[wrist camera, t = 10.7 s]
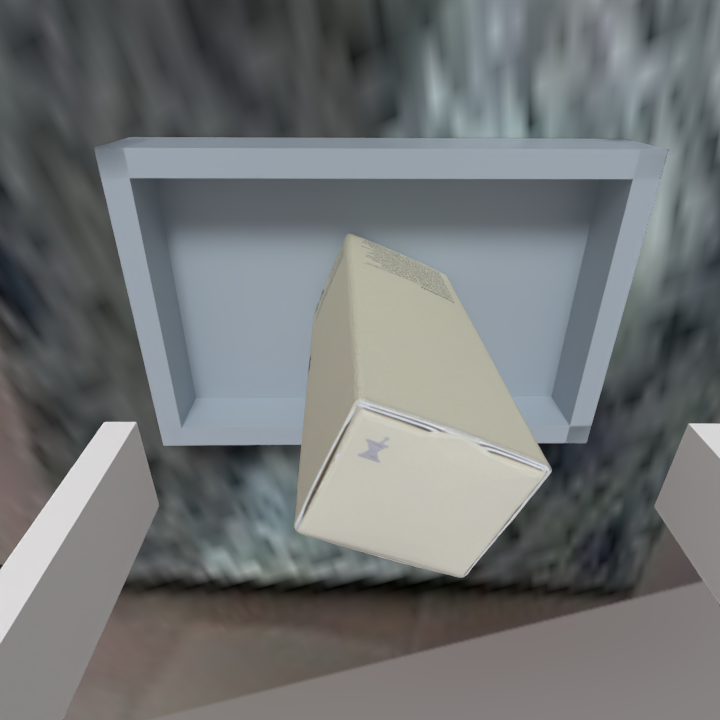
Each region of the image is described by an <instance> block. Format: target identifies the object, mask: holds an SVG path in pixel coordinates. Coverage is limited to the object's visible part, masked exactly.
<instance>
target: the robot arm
mask: <svg viewBox="0 0 720 720" xmlns="http://www.w3.org/2000/svg"><path fill="white" fill-rule="evenodd" d="M158 507H159V503H158V499H157V496H156V492H155V488H154V485H153V481H152V477H151V474H150V470H149V466H148V462H147V459H146V455H145V451H144V448H143V444H142V440H141V437H140V433H139V429H138V425H137V422H104V423H103V424H102V426H101V427H100V429H99V430H98V432H97V433H96V434H95V436H94V437H93V439H92V440H91V441H90V443H89V444H88V446H87V447H86V449H85V450H84V451H83V453H82V454H81V456H80V457H79V458H78V460H77V461H76V463H75V464H74V466H73V467H72V468H71V470H70V471H69V473H68V474H67V476H66V477H65V478H64V480H63V481H62V483H61V484H60V485H59V487H58V488H57V490H56V491H55V493H54V494H53V495H52V497H51V498H50V500H49V501H48V502H47V504H46V505H45V507H44V508H43V510H42V511H41V512H40V514H39V515H38V517H37V518H36V520H35V521H34V522H33V524H32V525H31V527H30V528H29V529H28V531H27V532H26V534H25V535H24V537H23V538H22V539H21V541H20V542H19V544H18V545H17V546H16V548H15V549H14V551H13V552H12V554H11V555H10V556H9V558H8V559H7V561H6V562H5V564H4V565H0V720H63V719H64V716H65V714H66V712H67V710H68V707H69V705H70V703H71V701H72V699H73V696H74V694H75V692H76V690H77V687H78V685H79V683H80V681H81V679H82V676H83V674H84V672H85V670H86V667H87V665H88V663H89V661H90V658H91V656H92V654H93V652H94V650H95V647H96V645H97V643H98V641H99V638H100V636H101V634H102V632H103V630H104V627H105V625H106V623H107V621H108V618H109V616H110V614H111V612H112V609H113V607H114V605H115V603H116V601H117V598H118V596H119V594H120V592H121V589H122V587H123V585H124V583H125V580H126V578H127V576H128V574H129V572H130V569H131V567H132V565H133V563H134V560H135V558H136V556H137V554H138V552H139V549H140V547H141V545H142V543H143V540H144V538H145V536H146V534H147V531H148V529H149V527H150V525H151V523H152V520H153V518H154V516H155V514H156V511H157V509H158ZM654 507H655V509H656V510H657V512H658V513H659V515H660V516H661V518H662V519H663V521H664V522H665V524H666V525H667V527H668V528H669V530H670V531H671V533H672V534H673V536H674V537H675V539H676V540H677V542H678V544H679V545H680V547H681V548H682V550H683V551H684V553H685V554H686V556H687V557H688V559H689V560H690V562H691V563H692V565H693V566H694V568H695V569H696V571H697V572H698V574H699V575H700V577H701V578H702V580H703V581H704V583H705V584H706V586H707V587H708V589H709V590H710V592H711V593H712V595H713V596H714V598H715V599H716V601H717V602H718V604H719V605H720V424H688V426H687V428H686V431H685V433H684V435H683V438H682V440H681V443H680V445H679V448H678V450H677V452H676V455H675V457H674V460H673V462H672V464H671V467H670V469H669V472H668V474H667V477H666V479H665V481H664V484H663V486H662V489H661V491H660V494H659V496H658V498H657V501H656V503H655V506H654Z"/></svg>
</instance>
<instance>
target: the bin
mask: <svg viewBox="0 0 720 720" xmlns="http://www.w3.org/2000/svg"><path fill="white" fill-rule="evenodd" d="M94 150H95V154H96V158H97V163H98V167H99V171H100V176H101V180H102V184H103V188H104V193H105V197H106V201H107V206H108V210H109V214H110V218H111V223H112V227H113V231H114V236H115V240H116V244H117V248H118V253H119V257H120V261H121V266H122V270H123V274H124V278H125V283H126V287H127V291H128V296H129V300H130V304H131V308H132V313H133V317H134V321H135V326H136V330H137V334H138V338H139V343H140V347H141V351H142V356H143V360H144V364H145V368H146V373H147V377H148V381H149V386H150V390H151V394H152V398H153V403H154V407H155V411H156V416H157V420H158V424H159V428H160V433H161V437H162V441H163V446H169V445H301V443H302V433H303V422H304V412H305V401H306V389H307V380H308V373H309V360H310V348H311V337H312V327H313V315H314V312H315V309H316V306H317V303H318V301H319V298H320V296H321V293H322V291H323V288H324V286H325V283H326V281H327V278H328V276H329V274H330V271H331V269H332V267H333V264H334V262H335V260H336V258H337V255H338V253H339V251H340V249H341V246H342V244H343V242H344V240H345V237H346V235H347V234H354V235H356V236H359V237H362V238H364V239H366V240H369V241H371V242H374V243H376V244H379V245H381V246H383V247H386V248H388V249H390V250H393V251H395V252H398V253H400V254H402V255H404V256H407V257H409V258H411V259H413V260H416V261H418V262H420V263H422V264H424V265H427V266H429V267H431V268H433V269H435V270H437V271H439V272H441V273H443V274H445V275H446V276H447V277H448V279H449V281H450V283H451V284H452V286H453V288H454V290H455V292H456V294H457V296H458V298H459V299H460V301H461V303H462V305H463V307H464V309H465V311H466V313H467V314H468V316H469V318H470V320H471V322H472V324H473V325H474V327H475V329H476V331H477V333H478V335H479V336H480V338H481V340H482V342H483V344H484V346H485V348H486V350H487V351H488V353H489V355H490V357H491V359H492V361H493V362H494V364H495V366H496V368H497V370H498V372H499V374H500V376H501V377H502V379H503V381H504V383H505V385H506V387H507V389H508V390H509V392H510V394H511V396H512V398H513V400H514V401H515V403H516V405H517V407H518V409H519V411H520V412H521V414H522V416H523V418H524V420H525V422H526V423H527V425H528V427H529V429H530V431H531V433H532V434H533V436H534V438H535V440H536V442H537V443H587V439H588V436H589V432H590V428H591V425H592V421H593V418H594V414H595V411H596V407H597V404H598V400H599V396H600V393H601V389H602V386H603V382H604V379H605V375H606V371H607V368H608V364H609V361H610V357H611V354H612V350H613V347H614V343H615V339H616V336H617V332H618V329H619V325H620V322H621V318H622V315H623V311H624V307H625V304H626V300H627V297H628V293H629V290H630V286H631V283H632V279H633V275H634V272H635V268H636V265H637V261H638V258H639V254H640V251H641V247H642V243H643V240H644V236H645V233H646V229H647V226H648V222H649V219H650V215H651V211H652V208H653V204H654V201H655V197H656V194H657V190H658V186H659V183H660V179H661V176H662V172H663V169H664V165H665V162H666V158H667V154H668V151H669V149H665V148H660V147H656V146H652V145H648V144H644V143H640V142H636V141H632V140H627V139H516V138H226V137H129V138H126V139H122V140H119V141H115V142H112V143H109V144H105V145H102V146H98V147H95V148H94Z"/></svg>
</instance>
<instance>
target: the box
mask: <svg viewBox="0 0 720 720" xmlns="http://www.w3.org/2000/svg"><path fill="white" fill-rule="evenodd" d="M551 470H552V469H551V467H550V465H549V463H548V462H547V460H546V458H545V456H544V455H543V453H542V451H541V449H540V447H539V445H538V444H537V442H536V440H535V438H534V436H533V434H532V433H531V431H530V429H529V427H528V425H527V423H526V422H525V420H524V418H523V416H522V414H521V412H520V411H519V409H518V407H517V405H516V403H515V401H514V400H513V398H512V396H511V394H510V392H509V390H508V389H507V387H506V385H505V383H504V381H503V379H502V377H501V376H500V374H499V372H498V370H497V368H496V366H495V364H494V362H493V361H492V359H491V357H490V355H489V353H488V351H487V350H486V348H485V346H484V344H483V342H482V340H481V338H480V336H479V335H478V333H477V331H476V329H475V327H474V325H473V324H472V322H471V320H470V318H469V316H468V314H467V313H466V311H465V309H464V307H463V305H462V303H461V301H460V299H459V298H458V296H457V294H456V292H455V290H454V288H453V286H452V284H451V283H450V281H449V279H448V277H447V276H446V275H445V274H443V273H441V272H439V271H437V270H435V269H433V268H431V267H429V266H427V265H424V264H422V263H420V262H418V261H416V260H413V259H411V258H409V257H407V256H404V255H402V254H400V253H398V252H395V251H393V250H390V249H388V248H386V247H383V246H381V245H379V244H376V243H374V242H371V241H369V240H366V239H364V238H362V237H359V236H356V235H354V234H347V235H346V237H345V240H344V242H343V244H342V246H341V249H340V251H339V253H338V255H337V258H336V260H335V262H334V264H333V267H332V269H331V271H330V274H329V276H328V278H327V281H326V283H325V286H324V288H323V291H322V293H321V296H320V298H319V301H318V303H317V306H316V309H315V312H314V315H313V327H312V337H311V348H310V360H309V373H308V380H307V389H306V401H305V412H304V422H303V433H302V443H301V453H300V466H299V476H298V488H297V501H296V512H295V524H294V527H295V530H296V531H297V532H298V533H300V534H303V535H306V536H309V537H313V538H316V539H320V540H323V541H326V542H329V543H333V544H336V545H339V546H343V547H347V548H350V549H354V550H357V551H361V552H364V553H368V554H372V555H375V556H379V557H382V558H386V559H389V560H393V561H396V562H400V563H404V564H408V565H412V566H415V567H419V568H424V569H428V570H431V571H435V572H440V573H444V574H448V575H452V576H456V577H464V576H466V575H467V574H468V573H469V572H470V570H471V569H472V568H473V566H474V565H475V564H476V563H477V561H478V560H479V559H480V558H481V556H482V555H483V554H484V553H485V552H486V551H487V549H488V548H489V547H490V546H491V545H492V544H493V543H494V542H495V541H496V540H497V538H498V537H499V535H500V534H501V533H502V532H503V531H504V530H505V528H506V527H507V526H508V525H509V524H510V523H511V522H512V520H513V519H514V518H515V517H516V516H517V514H518V513H519V512H520V511H521V509H522V508H523V507H524V506H525V504H526V503H527V502H528V501H529V499H530V498H531V497H532V496H533V495H534V493H535V492H536V491H537V490H538V488H539V487H540V486H541V485H542V483H543V482H544V481H545V480H546V478H547V477H548V476H549V475H550V473H551Z"/></svg>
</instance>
